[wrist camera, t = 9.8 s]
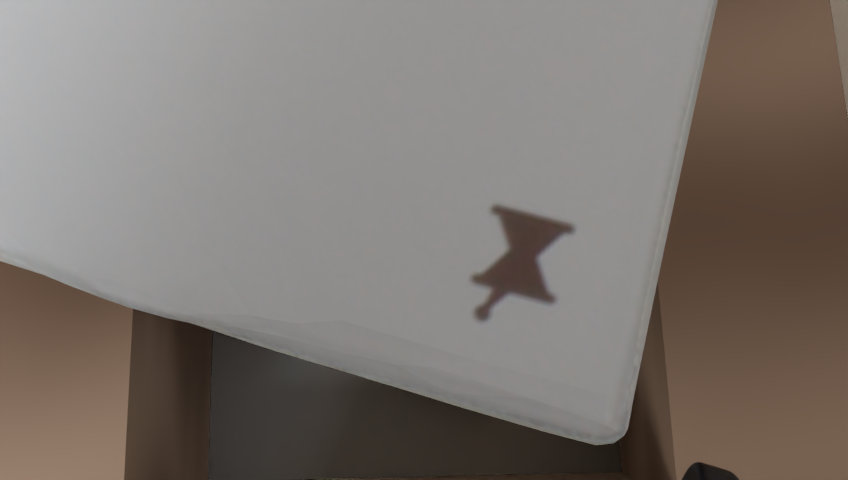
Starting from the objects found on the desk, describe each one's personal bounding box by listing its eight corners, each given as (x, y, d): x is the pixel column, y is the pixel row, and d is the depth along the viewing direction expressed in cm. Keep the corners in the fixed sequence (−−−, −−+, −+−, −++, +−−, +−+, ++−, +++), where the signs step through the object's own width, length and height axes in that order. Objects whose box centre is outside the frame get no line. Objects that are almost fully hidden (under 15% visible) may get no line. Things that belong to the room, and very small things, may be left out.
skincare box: (553, 222, 16) (800, -189, 4) (504, 404, 15) (643, 487, 4) (305, 154, 17) (-53, -365, 5) (247, 326, 16) (-328, 188, 4)
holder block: (811, 649, 14) (944, 752, 10) (40, 658, 15) (-110, 758, 11) (723, -62, 17) (800, -190, 13) (88, -26, 18) (-15, -138, 14)
